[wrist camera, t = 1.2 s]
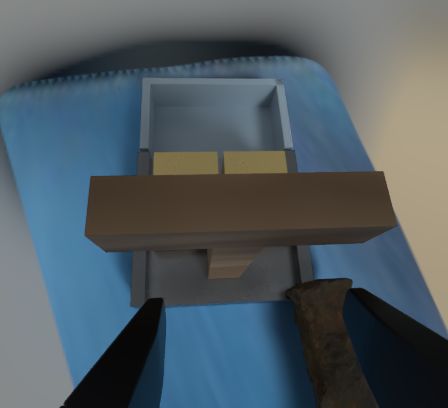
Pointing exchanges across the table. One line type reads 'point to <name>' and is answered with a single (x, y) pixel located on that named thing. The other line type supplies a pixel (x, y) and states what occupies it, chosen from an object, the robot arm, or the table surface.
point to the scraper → (236, 213)
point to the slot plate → (198, 271)
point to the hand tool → (329, 345)
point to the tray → (213, 115)
